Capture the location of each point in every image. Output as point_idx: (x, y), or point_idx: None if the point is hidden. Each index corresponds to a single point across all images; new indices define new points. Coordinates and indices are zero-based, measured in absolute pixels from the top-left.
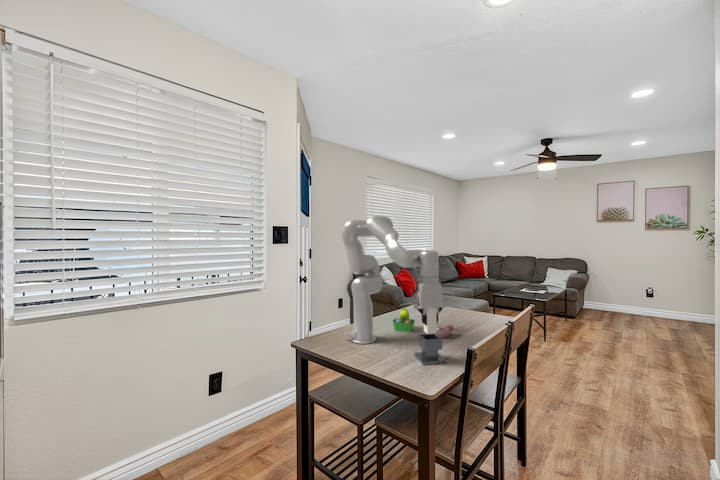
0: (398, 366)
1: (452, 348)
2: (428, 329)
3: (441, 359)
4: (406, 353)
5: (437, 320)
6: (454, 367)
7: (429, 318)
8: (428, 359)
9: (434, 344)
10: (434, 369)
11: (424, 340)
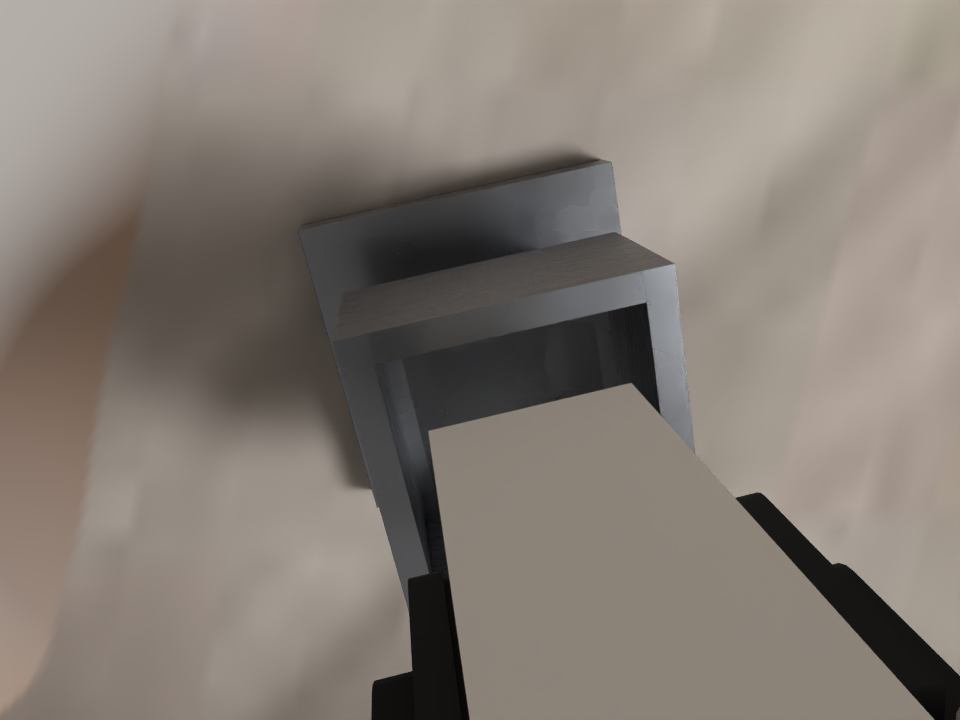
0: (887, 124)
1: (154, 649)
2: (640, 426)
3: (359, 251)
4: None
5: (411, 645)
6: (219, 91)
7: (733, 606)
8: (525, 249)
9: (473, 284)
10: (489, 30)
11: (673, 277)
